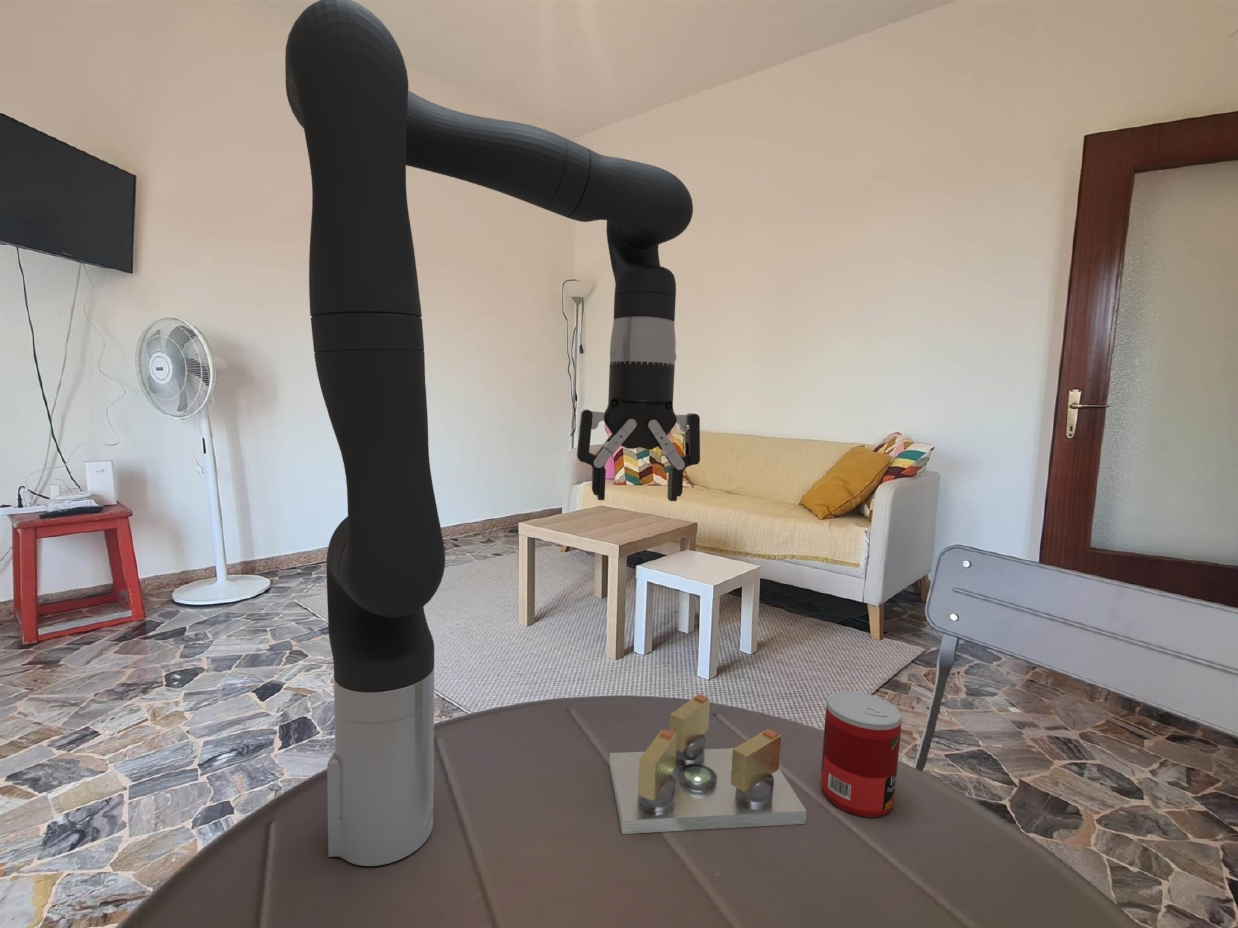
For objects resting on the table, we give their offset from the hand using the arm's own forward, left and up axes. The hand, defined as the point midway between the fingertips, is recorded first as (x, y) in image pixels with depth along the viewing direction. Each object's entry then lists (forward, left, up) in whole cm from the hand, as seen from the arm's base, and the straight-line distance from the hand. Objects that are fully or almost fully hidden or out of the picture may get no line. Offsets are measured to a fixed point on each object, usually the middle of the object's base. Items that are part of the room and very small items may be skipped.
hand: (636, 499), depth 71 cm
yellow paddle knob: (+8, -1, -32) cm, 33 cm away
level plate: (+8, -6, -33) cm, 35 cm away
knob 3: (+13, -9, -32) cm, 35 cm away
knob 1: (+2, -9, -32) cm, 33 cm away
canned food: (+26, -8, -33) cm, 43 cm away
